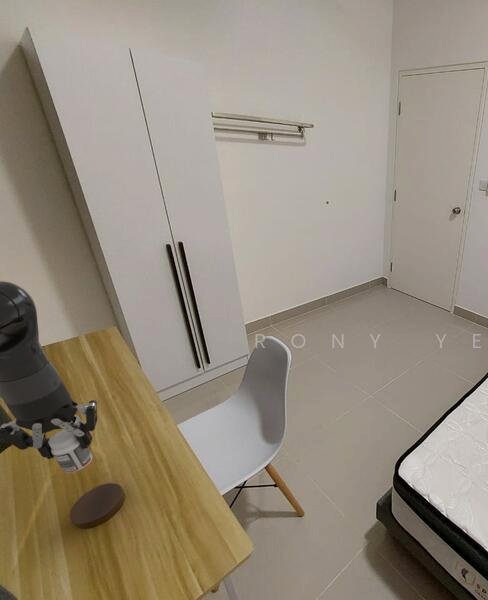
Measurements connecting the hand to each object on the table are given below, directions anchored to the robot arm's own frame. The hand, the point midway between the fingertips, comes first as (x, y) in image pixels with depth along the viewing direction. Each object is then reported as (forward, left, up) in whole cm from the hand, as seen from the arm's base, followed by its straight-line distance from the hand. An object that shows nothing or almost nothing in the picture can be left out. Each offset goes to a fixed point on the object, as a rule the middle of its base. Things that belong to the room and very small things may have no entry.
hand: (69, 449), depth 67 cm
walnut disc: (0, -2, -18) cm, 18 cm away
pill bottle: (0, 0, -5) cm, 5 cm away
